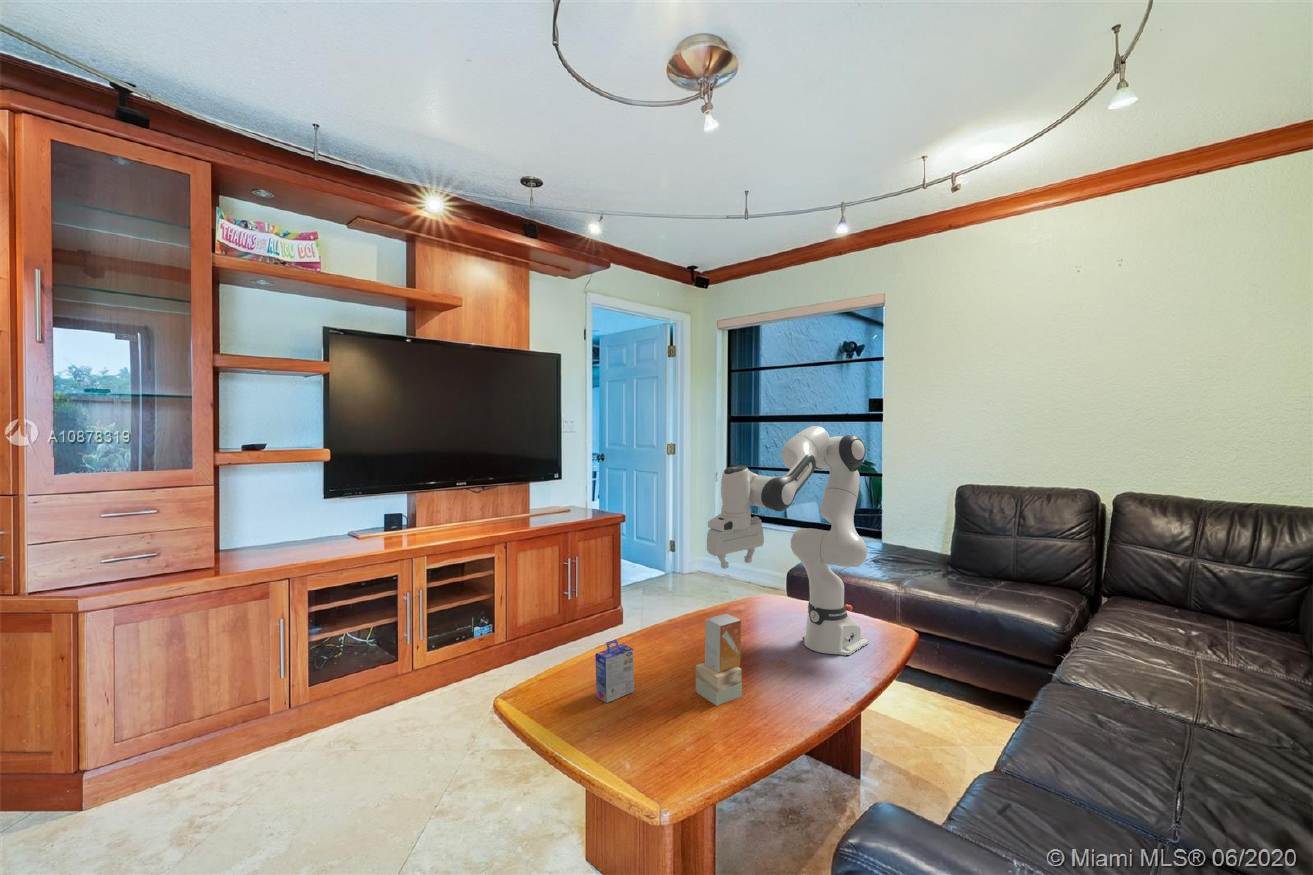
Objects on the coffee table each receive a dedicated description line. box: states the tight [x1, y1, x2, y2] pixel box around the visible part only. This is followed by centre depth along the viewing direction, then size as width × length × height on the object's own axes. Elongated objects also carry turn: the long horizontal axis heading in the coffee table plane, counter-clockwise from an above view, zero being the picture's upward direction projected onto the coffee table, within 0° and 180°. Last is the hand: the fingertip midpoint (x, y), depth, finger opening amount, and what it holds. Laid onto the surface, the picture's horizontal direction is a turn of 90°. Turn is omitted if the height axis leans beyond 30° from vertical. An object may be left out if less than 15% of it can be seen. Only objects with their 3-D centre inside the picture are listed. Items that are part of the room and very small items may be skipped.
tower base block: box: [695, 679, 743, 707], centre depth 152 cm, size 9×9×4 cm
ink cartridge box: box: [595, 639, 635, 704], centre depth 151 cm, size 10×6×14 cm, turn 132°
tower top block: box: [695, 661, 743, 692], centre depth 152 cm, size 9×9×4 cm
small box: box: [704, 613, 742, 673], centre depth 153 cm, size 8×6×13 cm
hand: (736, 565), depth 166 cm, fingers open, 8 cm apart
